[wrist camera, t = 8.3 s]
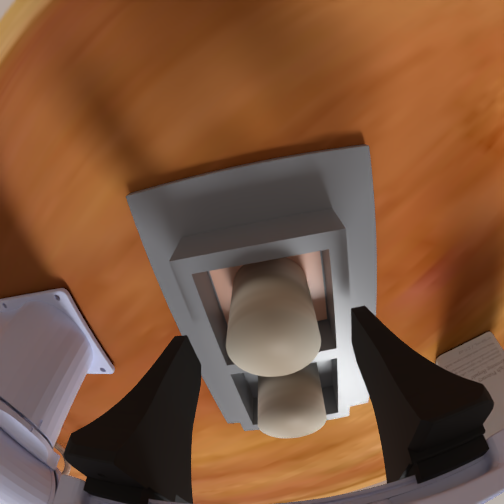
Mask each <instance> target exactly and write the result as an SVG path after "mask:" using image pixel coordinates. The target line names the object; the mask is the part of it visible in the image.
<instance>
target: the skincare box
mask: <svg viewBox="0 0 504 504" xmlns="http://www.w3.org/2000/svg"><path fill="white" fill-rule="evenodd" d="M436 365H438V366H440V367H442V368H444V369H446V370H447V371H450V372H452V373H454V374H456V375H459V376H461V377H464V378H466V379H469V380H472V381H475V382H478V383H482V384H483V385H484V386H485V387H486V389H487V390H488V392H489V394H490V395H491V397H492V399H493V401H494V407H493V410H492V411H491V413H490V415H489V416H488V418H487V419H486V421H485V422H484V423H483V426H484V428H485V433H484V434H483V435H484V437H485V439H487V438H489V437H490V436H492V435H493V434H495V433H497V432H498V431H500V430H502V429H504V350H503V349H502V347H501V346H500V344H499V343H498V341H497V340H496V338H495V337H494V335H493V334H492V332H490V331H489V332H486V333H485V334H483V335H481V336H479V337H477V338H475V339H473V340H471V341H469V342H466V343H464V344H463V345H461V346H458V347H456V348H454V349H452V350H450V351H448V352H446V353H444V354H442V355H440V356H439V357H438V358H437V359H436Z"/></svg>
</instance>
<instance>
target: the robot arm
mask: <svg viewBox="0 0 504 504" xmlns="http://www.w3.org/2000/svg"><path fill="white" fill-rule="evenodd" d="M351 342H352V346H353V350H354V354H355V358H356V362H357V364H358V367H359V370H360V372H361V375H362V378H363V380H364V383H365V385H366V388H367V391H368V393H369V396H370V399H371V402H372V405H373V408H374V412H375V416H376V420H377V425H378V429H379V434H380V439H381V445H382V450H383V456H384V463H385V470H386V478H387V484H384V485H381V486H377V487H373V488H369V489H365V490H361V491H357V492H352V493H347V494H342V495H337V496H332V497H326V498H320V499H313V500H306V501H298V502H289V503H278V504H484V503H486V502H488V501H489V500H491V499H493V498H494V497H496V496H498V495H500V494H501V493H503V492H504V429H502V430H500V431H498V432H497V433H495V434H493V435H492V436H490V437H489V438H487V439H485V437H484V435H483V434H484V433H485V428H484V426H483V423H484V422H485V421H486V419H487V418H488V416H489V415H490V413H491V411H492V410H493V407H494V401H493V399H492V397H491V395H490V394H489V392H488V390H487V389H486V387H485V386H484V385H483V384H482V383H478V382H475V381H472V380H469V379H466V378H464V377H461V376H459V375H456V374H454V373H452V372H450V371H447V370H446V369H444V368H442V367H440V366H438V365H436V364H434V363H432V362H431V361H429V360H428V359H426V358H424V357H423V356H421V355H420V354H418V353H417V352H416V351H414V350H413V349H412V348H410V347H409V346H408V345H406V344H405V343H404V342H403V341H401V340H400V339H399V338H398V337H397V336H396V335H395V334H393V333H392V332H391V331H390V330H389V329H388V328H387V327H386V326H385V325H384V324H383V323H382V322H381V321H380V320H379V319H378V318H377V317H376V316H375V315H374V314H373V313H372V312H371V311H370V310H369V309H368V308H367V307H366V306H365V305H364V306H360V307H355V308H351ZM114 370H115V368H114V366H113V364H112V363H111V362H110V360H109V359H108V357H107V356H106V354H105V353H104V351H103V349H102V348H101V346H100V345H99V343H98V342H97V340H96V338H95V337H94V335H93V334H92V332H91V330H90V329H89V327H88V325H87V324H86V322H85V320H84V319H83V317H82V315H81V313H80V312H79V310H78V308H77V306H76V305H75V303H74V301H73V299H72V297H71V295H70V293H69V292H68V291H67V290H66V289H64V288H58V289H52V290H47V291H42V292H36V293H31V294H25V295H20V296H14V297H9V298H3V299H0V504H193V498H192V485H191V444H192V430H193V423H194V418H195V412H196V407H197V402H198V396H199V391H200V385H201V363H200V361H199V359H198V357H197V355H196V353H195V351H194V349H193V347H192V345H191V342H190V340H189V338H188V336H187V335H183V336H175V337H174V338H173V339H172V341H171V342H170V343H169V345H168V346H167V347H166V349H165V350H164V351H163V353H162V354H161V355H160V357H159V358H158V359H157V361H156V362H155V363H154V364H153V366H152V367H151V368H150V370H149V371H148V372H147V373H146V374H145V375H144V377H143V378H142V379H141V380H140V381H139V383H138V384H137V385H136V386H135V387H134V388H133V389H132V390H131V391H130V392H129V393H128V394H127V395H126V396H125V397H124V398H123V399H122V400H121V401H119V402H118V403H117V404H116V405H115V406H113V407H112V408H111V409H110V410H109V411H107V412H106V413H105V414H103V415H102V416H100V417H99V418H97V419H96V420H94V421H93V422H91V423H90V424H88V425H86V426H85V427H83V428H81V429H79V430H77V431H75V432H73V433H71V436H70V438H69V441H68V443H67V446H66V449H65V451H64V454H63V456H64V458H65V460H66V461H67V462H68V463H69V464H70V465H72V466H73V467H74V468H76V469H77V470H78V471H80V472H81V473H82V474H84V475H85V476H87V479H86V482H85V481H83V480H81V479H78V478H75V477H72V476H68V475H65V474H61V472H60V471H59V469H58V468H57V467H56V466H57V464H58V461H59V458H60V456H59V455H58V454H57V453H56V452H54V451H53V447H54V444H55V442H56V440H57V437H58V435H59V432H60V430H61V428H62V425H63V423H64V421H65V419H66V416H67V414H68V412H69V410H70V407H71V405H72V403H73V401H74V399H75V397H76V395H77V392H78V390H79V388H80V386H81V384H82V382H83V380H84V378H85V376H86V374H87V373H88V374H113V373H114Z"/></svg>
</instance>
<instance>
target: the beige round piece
mask: <svg viewBox="0 0 504 504" xmlns="http://www.w3.org/2000/svg"><path fill="white" fill-rule="evenodd" d="M326 419H327V417H326V411H325V405H324V399H323V394H322V388H321V383H320V377H319V372H318V366H317V362H314V363H310V364H309V365H307V366H306V367H304V368H303V369H301V370H299V371H297V372H295V373H292V374H288V375H284V376H277V377H265V376H258V428H259V429H260V430H261V431H262V432H263V433H265V434H267V435H269V436H272V437H277V438H296V437H302V436H306V435H309V434H311V433H313V432H315V431H317V430H319V429H320V428H321V427H322V426H323V425H324V424H325V422H326Z"/></svg>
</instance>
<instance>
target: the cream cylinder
mask: <svg viewBox="0 0 504 504" xmlns="http://www.w3.org/2000/svg"><path fill="white" fill-rule="evenodd" d="M320 346H321V337H320V332H319V328H318V323H317V319H316V315H315V311H314V306H313V302H312V298H311V294H310V290H309V286H308V282H307V278H306V275H305V273H304V271H303V270H302V268H301V267H300V266H299V265H298V264H297V263H296V262H294V261H293V260H291V259H289V258H286V257H284V258H278V259H273V260H267V261H262V262H256V263H251V264H245V265H243V266H242V267H241V268H240V269H239V270H238V272H237V273H236V275H235V278H234V281H233V289H232V297H231V305H230V313H229V321H228V329H227V337H226V350H227V354H228V356H229V358H230V359H231V360H232V362H233V363H234V364H235V365H237V366H238V367H239V368H241V369H242V370H244V371H246V372H248V373H251V374H254V375H258V376H265V377H277V376H284V375H288V374H292V373H295V372H297V371H299V370H301V369H303V368H304V367H306V366H307V365H309V364H310V363H311V362H312V361H313V360H314V359H315V357H316V356H317V354H318V352H319V350H320Z"/></svg>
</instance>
